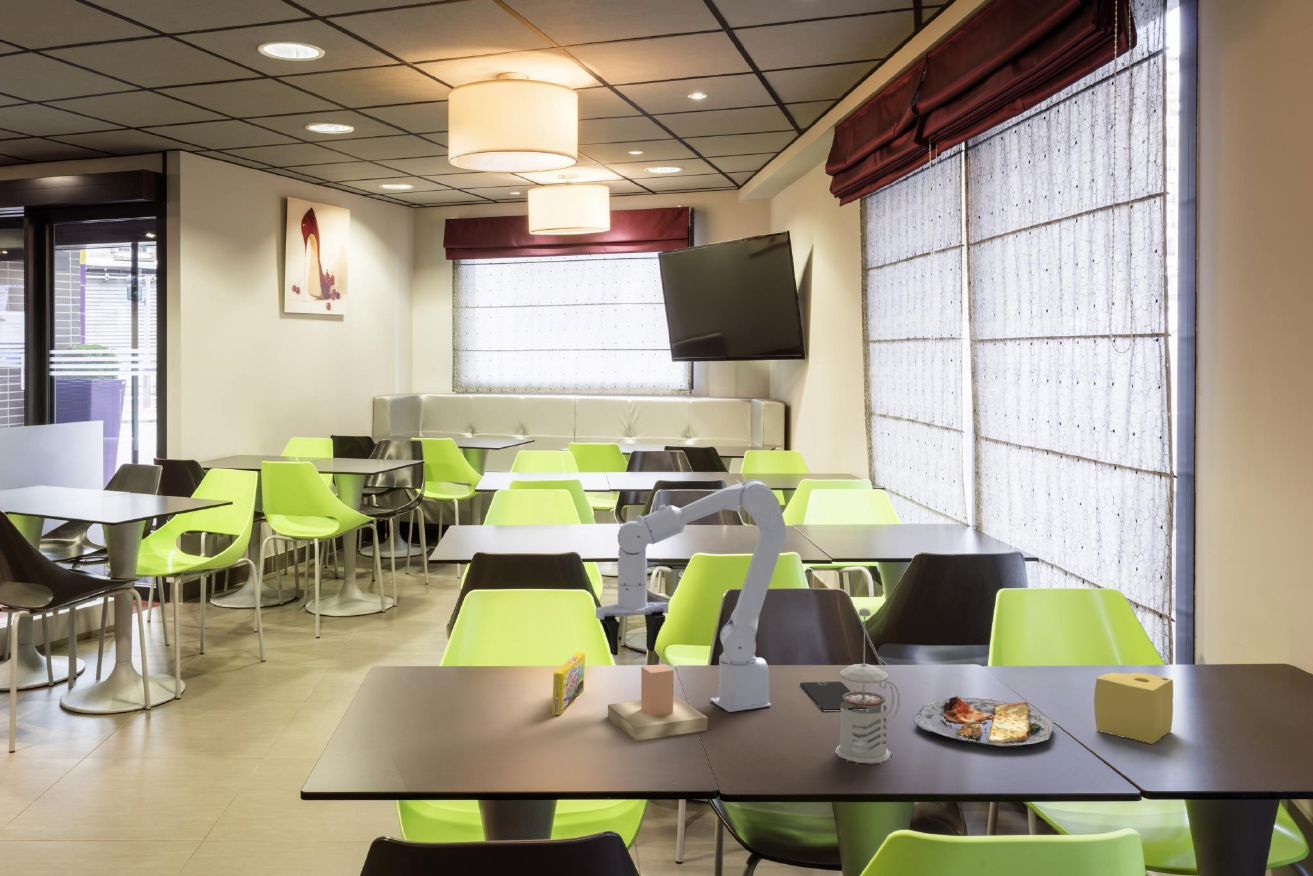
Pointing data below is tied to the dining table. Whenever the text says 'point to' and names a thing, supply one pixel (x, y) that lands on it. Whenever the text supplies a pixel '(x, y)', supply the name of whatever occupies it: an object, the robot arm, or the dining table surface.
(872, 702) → the french press
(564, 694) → the candy box
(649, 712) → the terracotta block
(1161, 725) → the cheese
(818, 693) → the cell phone
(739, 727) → the dining table surface
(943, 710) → the food plate
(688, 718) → the birch block
